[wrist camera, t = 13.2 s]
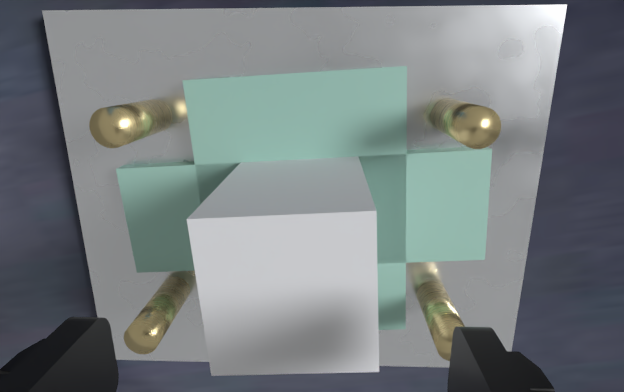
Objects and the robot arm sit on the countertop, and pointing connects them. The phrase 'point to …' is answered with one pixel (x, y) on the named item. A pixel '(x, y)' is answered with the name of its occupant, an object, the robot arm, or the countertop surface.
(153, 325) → the chassis plate
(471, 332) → the robot arm
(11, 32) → the countertop surface
